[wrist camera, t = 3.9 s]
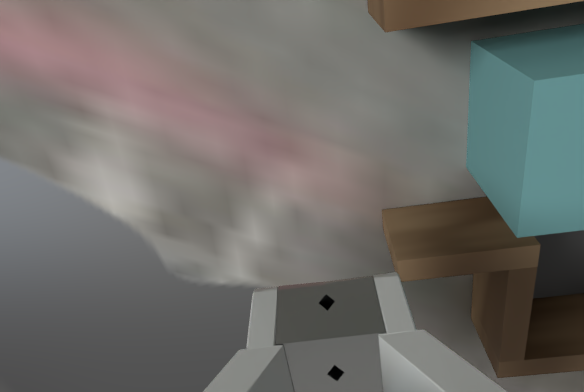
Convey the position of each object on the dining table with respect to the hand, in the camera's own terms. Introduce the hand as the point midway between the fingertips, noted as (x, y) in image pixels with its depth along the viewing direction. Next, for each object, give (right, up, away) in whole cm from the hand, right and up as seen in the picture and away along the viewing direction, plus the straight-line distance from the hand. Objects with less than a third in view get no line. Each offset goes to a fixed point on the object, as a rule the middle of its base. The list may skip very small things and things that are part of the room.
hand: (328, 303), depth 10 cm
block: (+8, +6, +7) cm, 13 cm away
